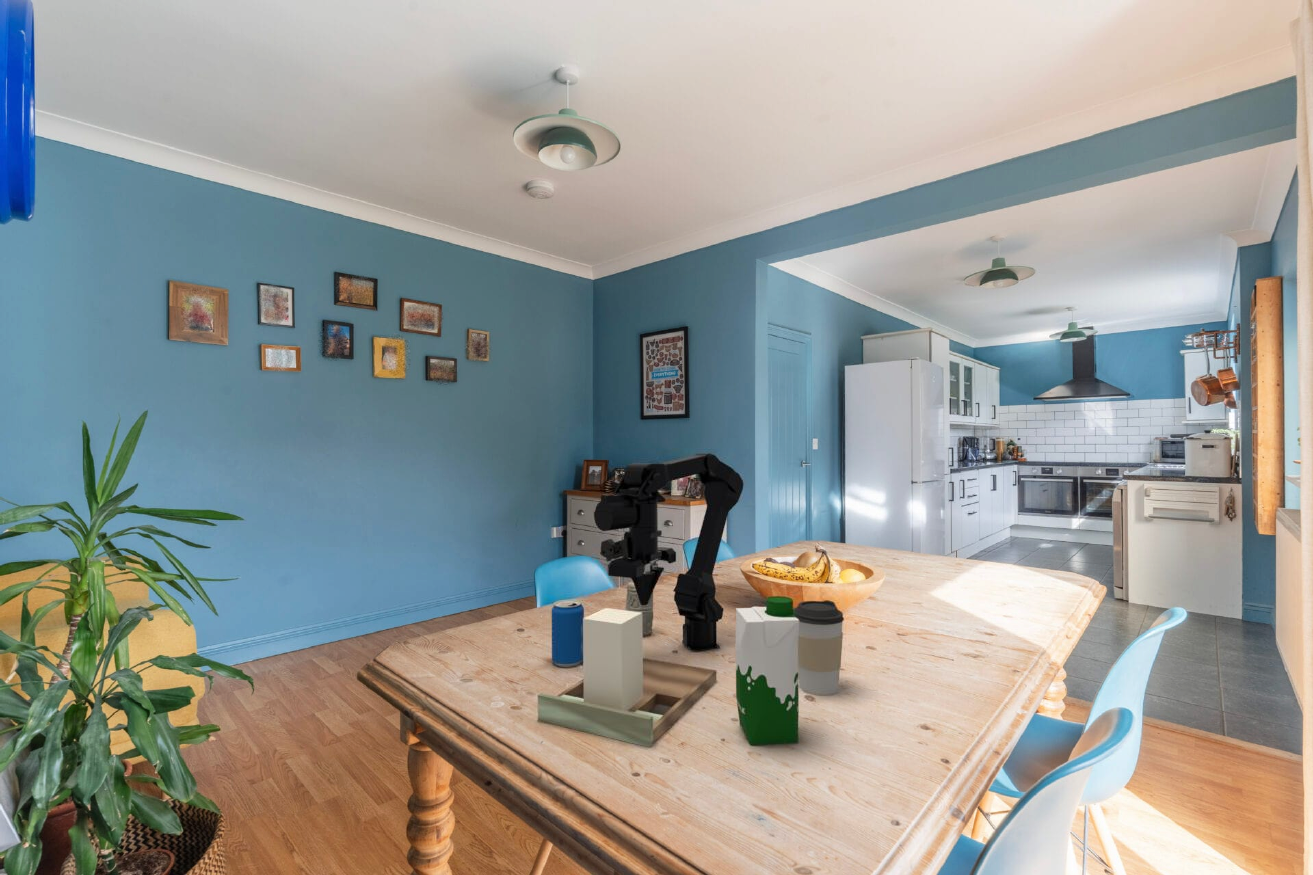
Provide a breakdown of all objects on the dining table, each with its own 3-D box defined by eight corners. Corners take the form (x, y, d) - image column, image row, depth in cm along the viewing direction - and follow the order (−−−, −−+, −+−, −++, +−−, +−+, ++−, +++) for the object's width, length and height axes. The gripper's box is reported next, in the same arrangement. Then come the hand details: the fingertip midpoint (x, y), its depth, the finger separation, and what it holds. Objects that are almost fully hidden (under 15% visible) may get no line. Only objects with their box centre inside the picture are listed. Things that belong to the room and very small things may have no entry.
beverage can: (578, 669, 117) (577, 607, 117) (546, 667, 118) (546, 606, 118) (588, 657, 123) (588, 599, 124) (558, 656, 125) (558, 598, 125)
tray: (622, 664, 119) (621, 644, 119) (716, 681, 110) (716, 659, 110) (537, 720, 95) (537, 695, 95) (649, 747, 86) (649, 719, 86)
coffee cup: (816, 701, 101) (815, 612, 101) (782, 683, 109) (781, 600, 109) (856, 691, 105) (854, 605, 105) (819, 674, 113) (818, 594, 113)
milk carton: (806, 745, 86) (804, 606, 87) (744, 748, 85) (742, 608, 86) (787, 718, 95) (786, 591, 95) (731, 721, 94) (730, 593, 95)
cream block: (606, 690, 101) (605, 607, 102) (643, 698, 98) (642, 612, 99) (583, 706, 95) (583, 618, 95) (621, 715, 92) (621, 623, 92)
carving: (638, 640, 134) (637, 586, 134) (618, 632, 140) (618, 581, 140) (660, 634, 138) (659, 582, 138) (640, 627, 144) (639, 577, 144)
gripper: (630, 519, 131) (631, 590, 131) (583, 529, 114) (583, 611, 114) (676, 521, 126) (677, 595, 126) (634, 533, 109) (635, 618, 109)
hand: (644, 604), depth 119 cm, fingers closed
